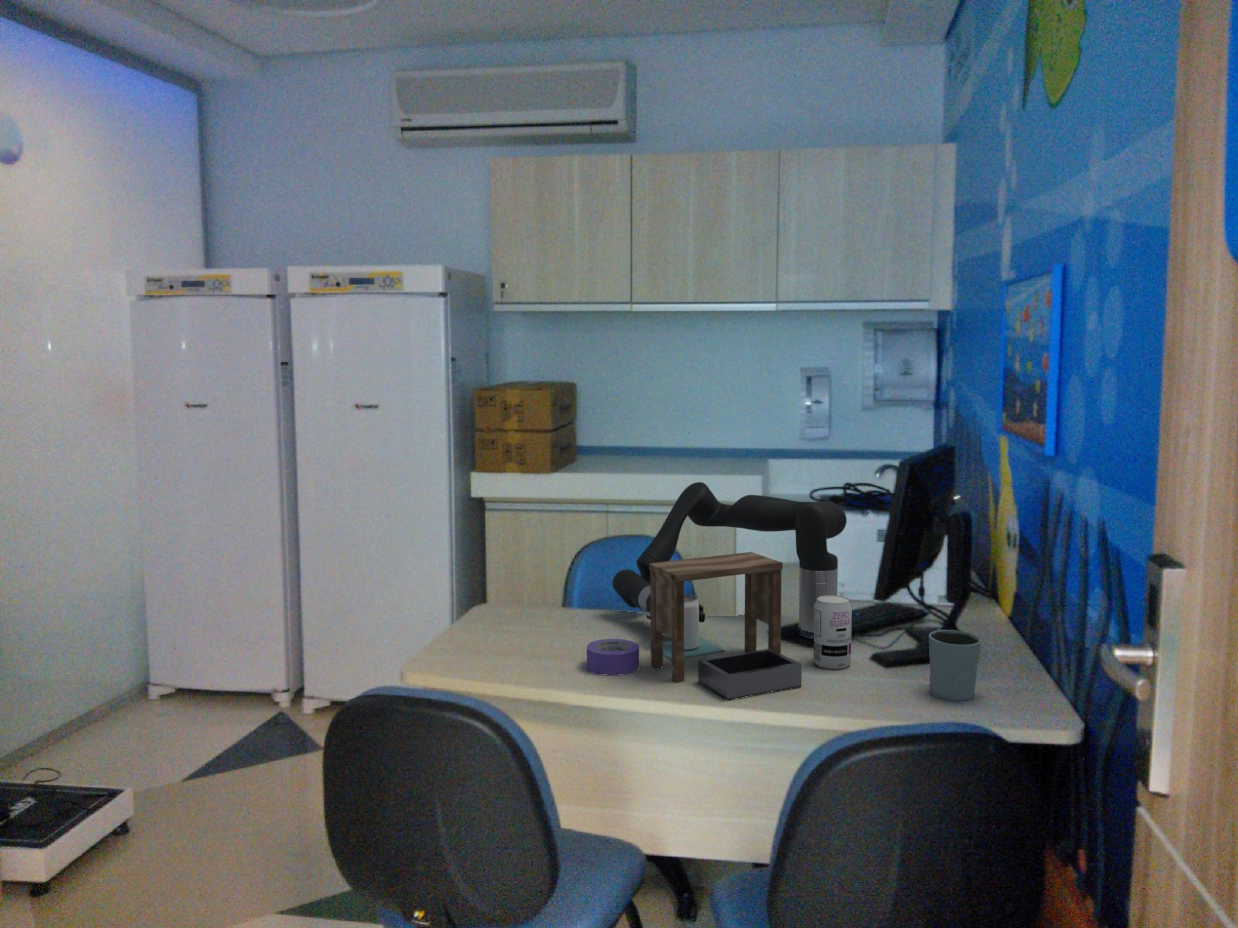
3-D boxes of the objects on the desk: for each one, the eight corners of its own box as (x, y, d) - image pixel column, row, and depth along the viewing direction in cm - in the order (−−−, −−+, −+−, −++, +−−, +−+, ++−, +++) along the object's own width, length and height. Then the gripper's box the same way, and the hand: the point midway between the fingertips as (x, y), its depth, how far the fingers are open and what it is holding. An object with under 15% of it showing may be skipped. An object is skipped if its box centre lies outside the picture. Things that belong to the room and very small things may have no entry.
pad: (648, 646, 235) (648, 644, 235) (699, 638, 241) (699, 636, 241) (671, 660, 224) (671, 658, 224) (724, 651, 230) (724, 650, 230)
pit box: (698, 682, 209) (698, 660, 208) (769, 670, 216) (769, 648, 215) (727, 700, 198) (727, 676, 197) (801, 687, 205) (801, 664, 205)
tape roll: (639, 659, 226) (639, 638, 225) (639, 676, 214) (638, 653, 213) (588, 659, 226) (588, 638, 225) (585, 676, 214) (584, 653, 214)
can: (680, 652, 228) (680, 602, 226) (666, 644, 234) (666, 595, 232) (704, 648, 231) (703, 598, 229) (690, 640, 237) (689, 592, 235)
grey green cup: (935, 682, 207) (937, 627, 206) (985, 691, 202) (987, 634, 200) (920, 696, 199) (922, 639, 198) (971, 706, 193) (973, 647, 192)
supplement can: (826, 656, 225) (827, 592, 224) (857, 664, 220) (859, 599, 218) (806, 664, 220) (806, 599, 218) (837, 673, 214) (838, 606, 212)
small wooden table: (650, 665, 220) (649, 563, 217) (750, 649, 231) (751, 552, 228) (677, 683, 208) (676, 575, 206) (781, 665, 219) (782, 562, 216)
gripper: (684, 614, 248) (717, 631, 233) (632, 621, 242) (663, 639, 227) (684, 585, 247) (717, 600, 232) (632, 591, 241) (663, 608, 226)
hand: (690, 619), depth 229 cm, fingers closed on can, 6 cm apart
